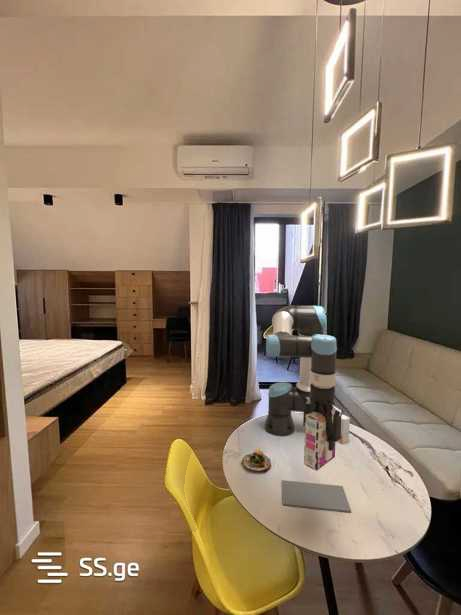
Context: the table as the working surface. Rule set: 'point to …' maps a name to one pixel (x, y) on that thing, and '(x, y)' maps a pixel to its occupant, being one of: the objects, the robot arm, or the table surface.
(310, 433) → the candy bar box
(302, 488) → the mat
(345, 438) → the skincare box
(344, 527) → the table surface
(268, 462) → the plate of food
